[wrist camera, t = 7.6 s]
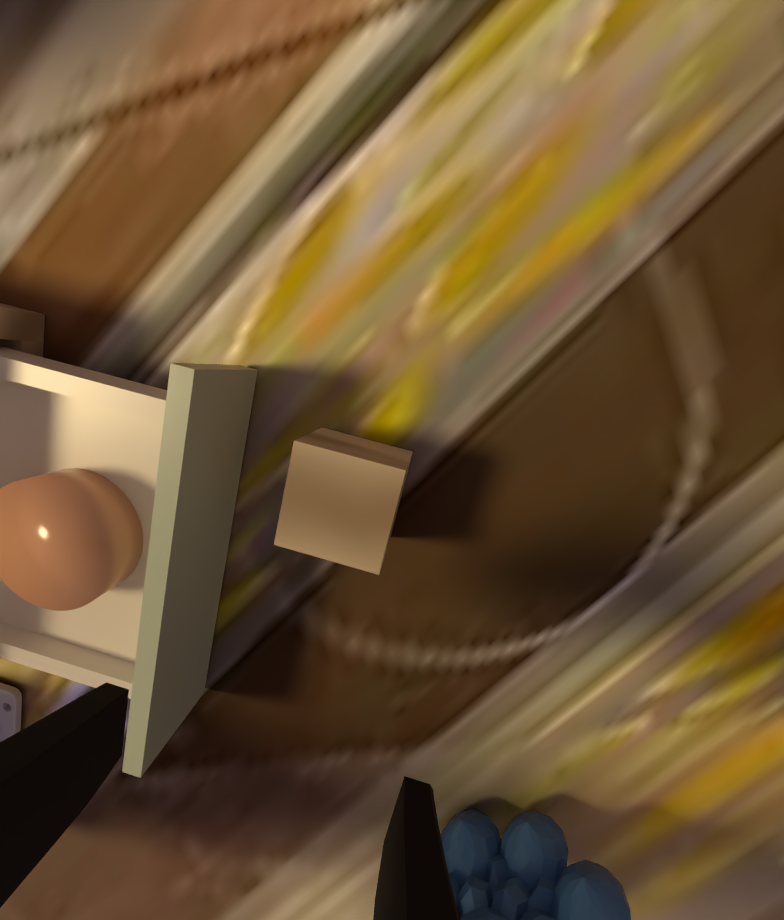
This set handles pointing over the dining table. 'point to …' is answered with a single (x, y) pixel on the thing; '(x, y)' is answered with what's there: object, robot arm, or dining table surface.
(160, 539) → the pull-out drawer
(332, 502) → the block
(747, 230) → the dining table surface
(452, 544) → the dining table surface
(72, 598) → the rounded lump
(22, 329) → the housing
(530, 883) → the grapes
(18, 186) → the dining table surface
